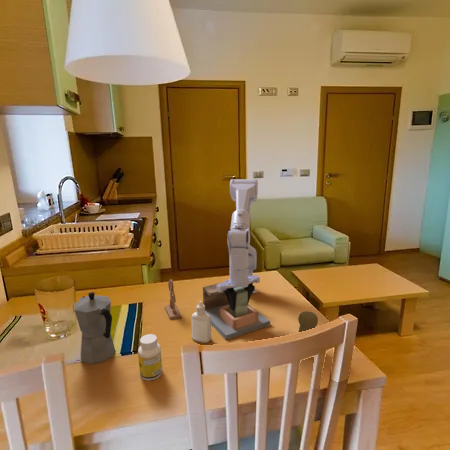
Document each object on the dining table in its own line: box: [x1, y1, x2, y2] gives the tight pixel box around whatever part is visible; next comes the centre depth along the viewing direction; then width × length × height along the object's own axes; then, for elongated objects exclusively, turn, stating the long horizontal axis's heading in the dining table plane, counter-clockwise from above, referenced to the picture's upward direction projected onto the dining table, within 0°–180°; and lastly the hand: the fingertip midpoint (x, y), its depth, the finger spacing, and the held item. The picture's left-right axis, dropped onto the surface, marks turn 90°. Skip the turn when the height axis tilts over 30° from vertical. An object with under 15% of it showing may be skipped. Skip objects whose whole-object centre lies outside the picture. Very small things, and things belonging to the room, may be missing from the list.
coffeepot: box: [73, 291, 116, 365], centre depth 82 cm, size 15×9×18 cm, turn 49°
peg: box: [230, 287, 249, 318], centre depth 97 cm, size 4×4×9 cm
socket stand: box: [205, 304, 271, 340], centre depth 101 cm, size 18×16×4 cm
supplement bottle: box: [137, 333, 163, 381], centre depth 75 cm, size 5×5×10 cm
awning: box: [202, 282, 237, 310], centre depth 105 cm, size 6×14×8 cm, turn 119°
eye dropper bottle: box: [190, 300, 212, 344], centre depth 89 cm, size 4×6×12 cm
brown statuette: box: [164, 279, 182, 321], centre depth 104 cm, size 9×4×12 cm, turn 22°
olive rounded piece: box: [297, 310, 319, 332], centre depth 84 cm, size 6×6×11 cm
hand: (238, 307), depth 98 cm, fingers closed on peg, 4 cm apart
